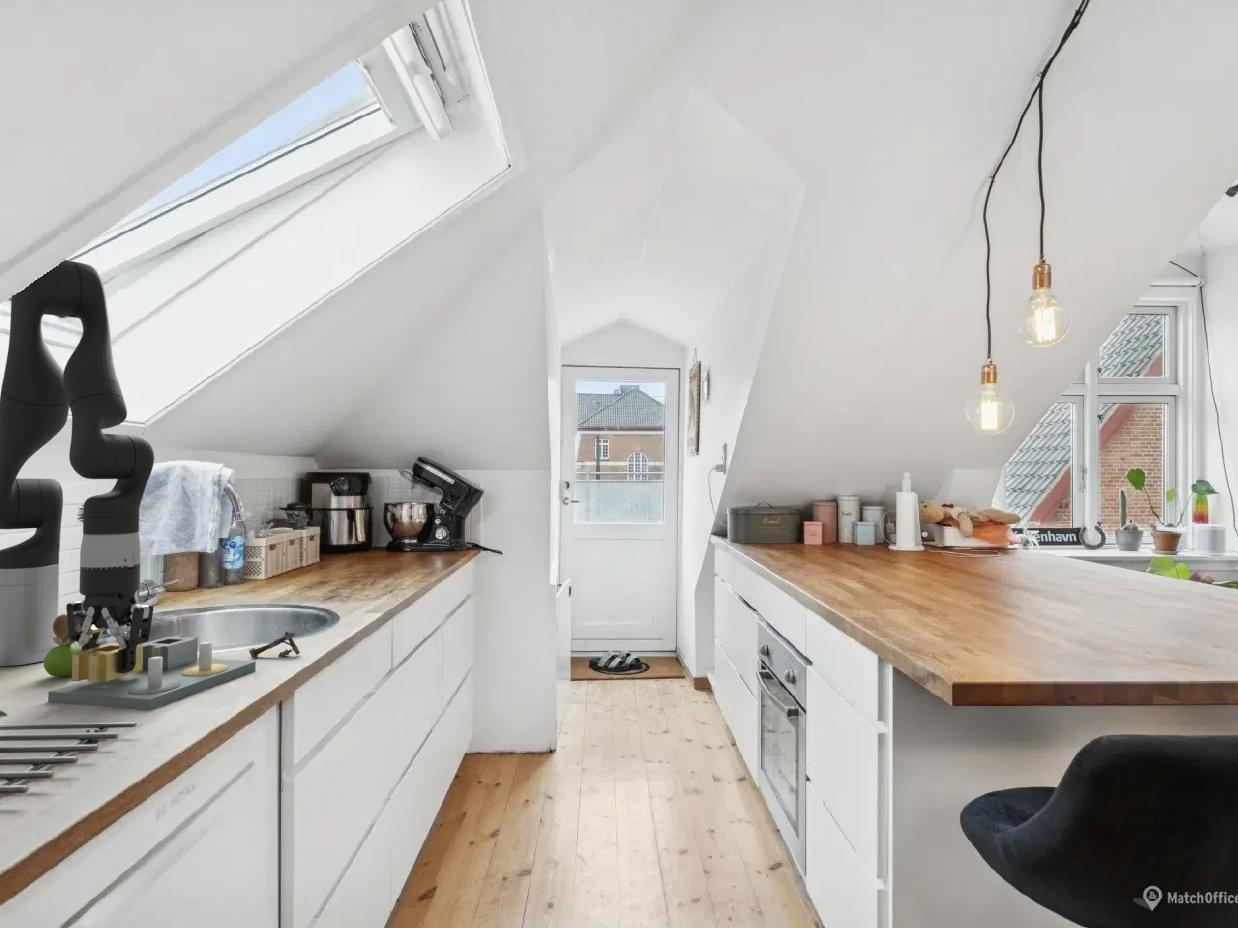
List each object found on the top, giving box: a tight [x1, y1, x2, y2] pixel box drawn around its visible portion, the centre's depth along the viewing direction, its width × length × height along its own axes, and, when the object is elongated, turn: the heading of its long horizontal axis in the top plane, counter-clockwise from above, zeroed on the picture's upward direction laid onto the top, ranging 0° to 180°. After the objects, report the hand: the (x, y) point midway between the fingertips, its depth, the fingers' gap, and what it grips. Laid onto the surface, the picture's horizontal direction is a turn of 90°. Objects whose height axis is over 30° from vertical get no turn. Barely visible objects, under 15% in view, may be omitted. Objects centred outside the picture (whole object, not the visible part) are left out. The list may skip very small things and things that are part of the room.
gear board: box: [47, 641, 256, 711], centre depth 110 cm, size 18×21×6 cm
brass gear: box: [71, 642, 143, 683], centre depth 106 cm, size 6×8×4 cm
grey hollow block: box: [141, 635, 199, 671], centre depth 116 cm, size 6×8×4 cm
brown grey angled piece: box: [248, 631, 301, 660], centre depth 128 cm, size 2×8×5 cm, turn 100°
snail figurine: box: [43, 613, 81, 678], centre depth 114 cm, size 5×6×12 cm
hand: (108, 670), depth 106 cm, fingers closed on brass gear, 6 cm apart
